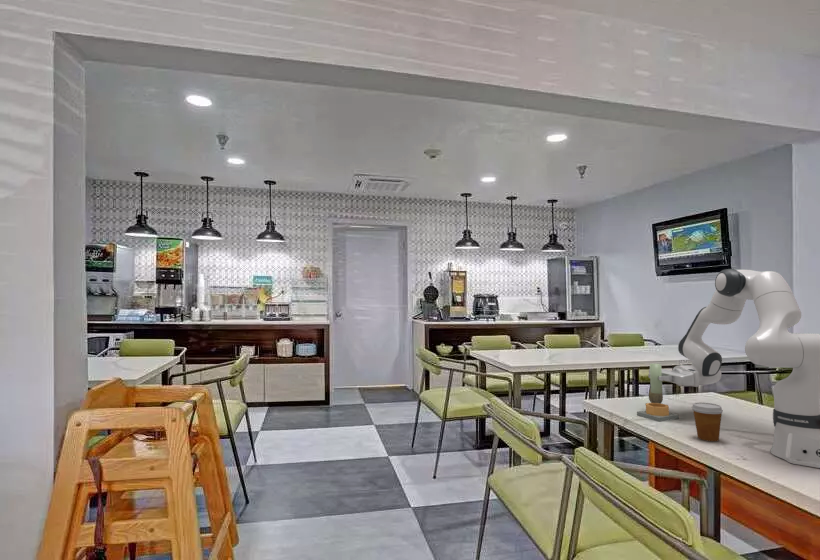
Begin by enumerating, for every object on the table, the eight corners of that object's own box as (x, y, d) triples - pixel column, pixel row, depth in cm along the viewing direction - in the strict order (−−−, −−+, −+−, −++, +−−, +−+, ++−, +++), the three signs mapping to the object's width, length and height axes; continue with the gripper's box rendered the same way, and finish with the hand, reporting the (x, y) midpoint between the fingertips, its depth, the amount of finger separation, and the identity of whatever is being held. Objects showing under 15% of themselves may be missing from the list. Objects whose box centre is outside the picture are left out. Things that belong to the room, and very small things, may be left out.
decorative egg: (646, 404, 213) (645, 383, 213) (654, 402, 215) (653, 382, 216) (657, 406, 207) (656, 385, 208) (666, 405, 210) (665, 384, 210)
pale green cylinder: (664, 392, 190) (663, 364, 191) (660, 393, 187) (658, 365, 188) (653, 390, 194) (652, 363, 194) (649, 392, 191) (647, 364, 191)
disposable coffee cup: (697, 441, 157) (696, 407, 158) (689, 434, 166) (687, 401, 167) (728, 444, 154) (727, 409, 155) (718, 435, 163) (717, 402, 164)
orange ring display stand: (678, 418, 187) (678, 406, 187) (659, 421, 183) (658, 409, 183) (656, 412, 197) (655, 401, 197) (637, 415, 193) (636, 403, 194)
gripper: (665, 365, 203) (637, 366, 201) (701, 372, 183) (671, 373, 181) (665, 378, 203) (638, 380, 201) (701, 387, 183) (671, 389, 181)
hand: (654, 377), depth 191 cm, fingers closed on pale green cylinder, 4 cm apart
